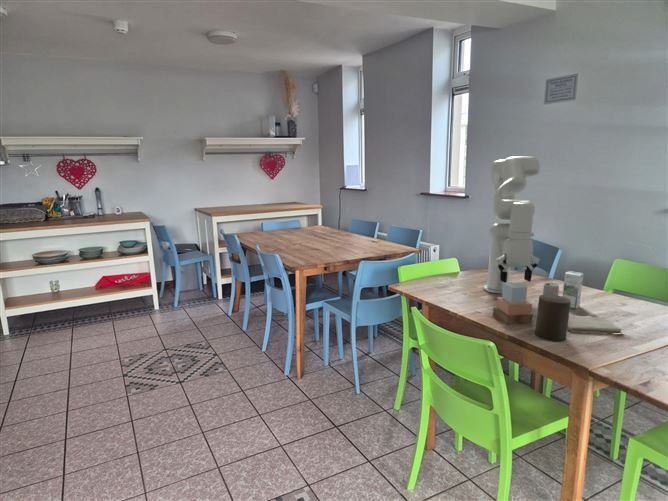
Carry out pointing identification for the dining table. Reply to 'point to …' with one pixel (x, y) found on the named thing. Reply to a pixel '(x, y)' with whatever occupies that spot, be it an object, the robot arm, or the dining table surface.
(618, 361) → the dining table surface
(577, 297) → the syrup box
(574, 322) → the washcloth
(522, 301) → the blue-grey cube
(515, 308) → the terracotta block
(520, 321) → the walnut base block
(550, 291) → the energy drink
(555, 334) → the pillar candle
